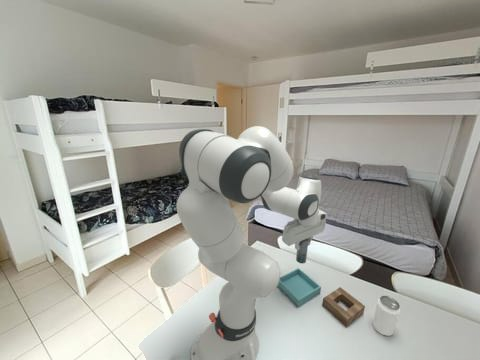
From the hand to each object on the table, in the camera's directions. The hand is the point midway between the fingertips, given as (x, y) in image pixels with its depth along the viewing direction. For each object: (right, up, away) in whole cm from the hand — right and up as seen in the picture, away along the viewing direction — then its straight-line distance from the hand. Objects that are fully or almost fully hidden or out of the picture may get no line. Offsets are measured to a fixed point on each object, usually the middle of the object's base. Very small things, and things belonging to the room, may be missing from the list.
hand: (302, 246), depth 86 cm
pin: (0, -6, +2) cm, 7 cm away
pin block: (+15, -24, -2) cm, 29 cm away
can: (+26, -27, -9) cm, 39 cm away
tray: (0, -21, +7) cm, 22 cm away
